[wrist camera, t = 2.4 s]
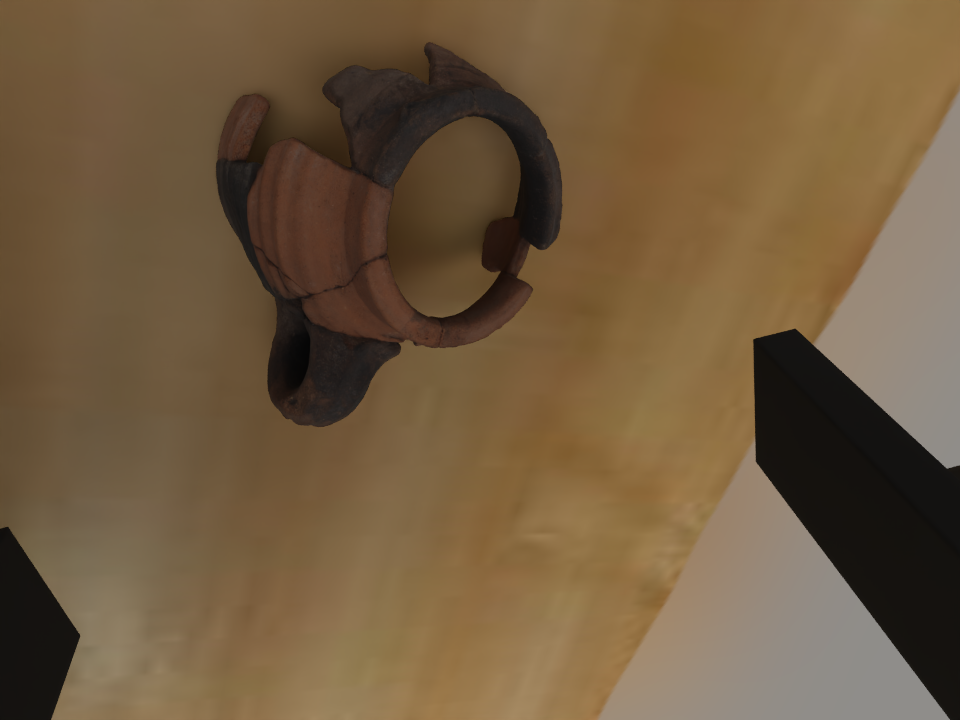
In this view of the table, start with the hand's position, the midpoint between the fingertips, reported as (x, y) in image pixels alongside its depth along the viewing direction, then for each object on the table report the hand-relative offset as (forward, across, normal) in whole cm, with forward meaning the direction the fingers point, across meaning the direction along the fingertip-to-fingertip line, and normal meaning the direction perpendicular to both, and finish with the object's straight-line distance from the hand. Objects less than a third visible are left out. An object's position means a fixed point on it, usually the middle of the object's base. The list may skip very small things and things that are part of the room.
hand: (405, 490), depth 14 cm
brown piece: (+15, 0, 0) cm, 15 cm away
